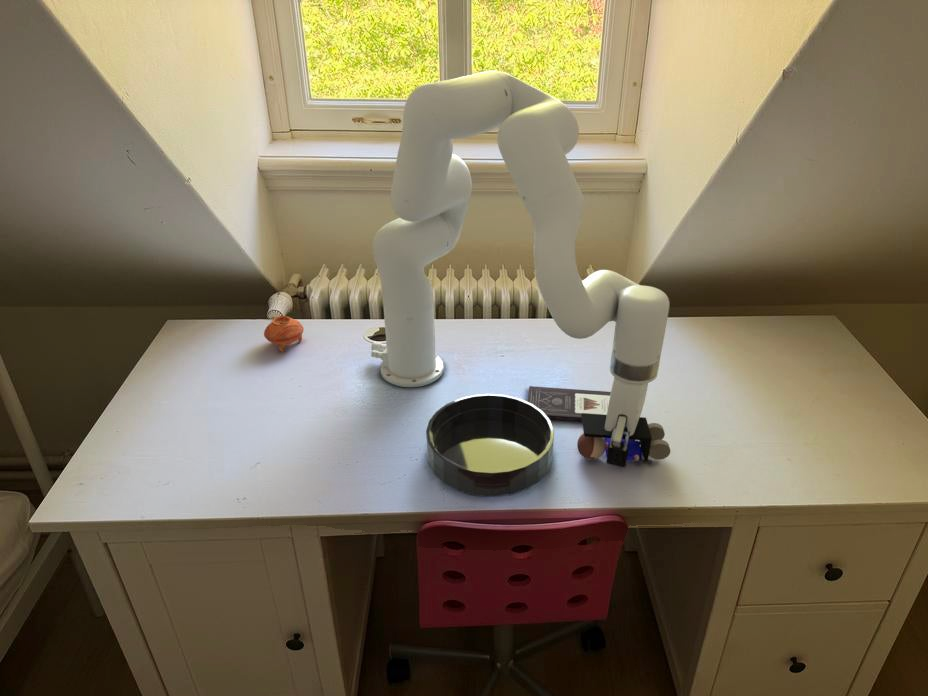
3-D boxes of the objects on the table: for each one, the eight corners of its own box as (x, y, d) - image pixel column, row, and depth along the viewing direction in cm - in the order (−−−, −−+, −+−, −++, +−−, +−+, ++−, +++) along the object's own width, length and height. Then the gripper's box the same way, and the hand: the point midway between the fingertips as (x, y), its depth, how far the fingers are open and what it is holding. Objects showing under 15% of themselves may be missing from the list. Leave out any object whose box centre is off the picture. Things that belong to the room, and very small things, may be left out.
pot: (304, 353, 143) (292, 325, 139) (269, 360, 144) (255, 333, 140) (312, 332, 149) (300, 306, 145) (278, 339, 150) (265, 313, 146)
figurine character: (655, 451, 123) (573, 442, 121) (667, 417, 119) (581, 407, 117) (662, 476, 117) (576, 467, 116) (675, 442, 113) (585, 432, 112)
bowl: (406, 479, 113) (404, 453, 110) (457, 408, 129) (456, 383, 126) (529, 513, 107) (531, 486, 104) (566, 434, 124) (568, 409, 121)
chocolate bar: (529, 386, 134) (622, 392, 133) (529, 390, 135) (621, 396, 134) (526, 413, 127) (624, 420, 126) (526, 417, 127) (624, 424, 126)
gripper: (622, 333, 116) (610, 416, 126) (598, 387, 103) (587, 476, 112) (667, 341, 114) (651, 425, 124) (648, 398, 101) (633, 487, 111)
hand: (621, 449), depth 118 cm, fingers closed on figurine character, 7 cm apart
